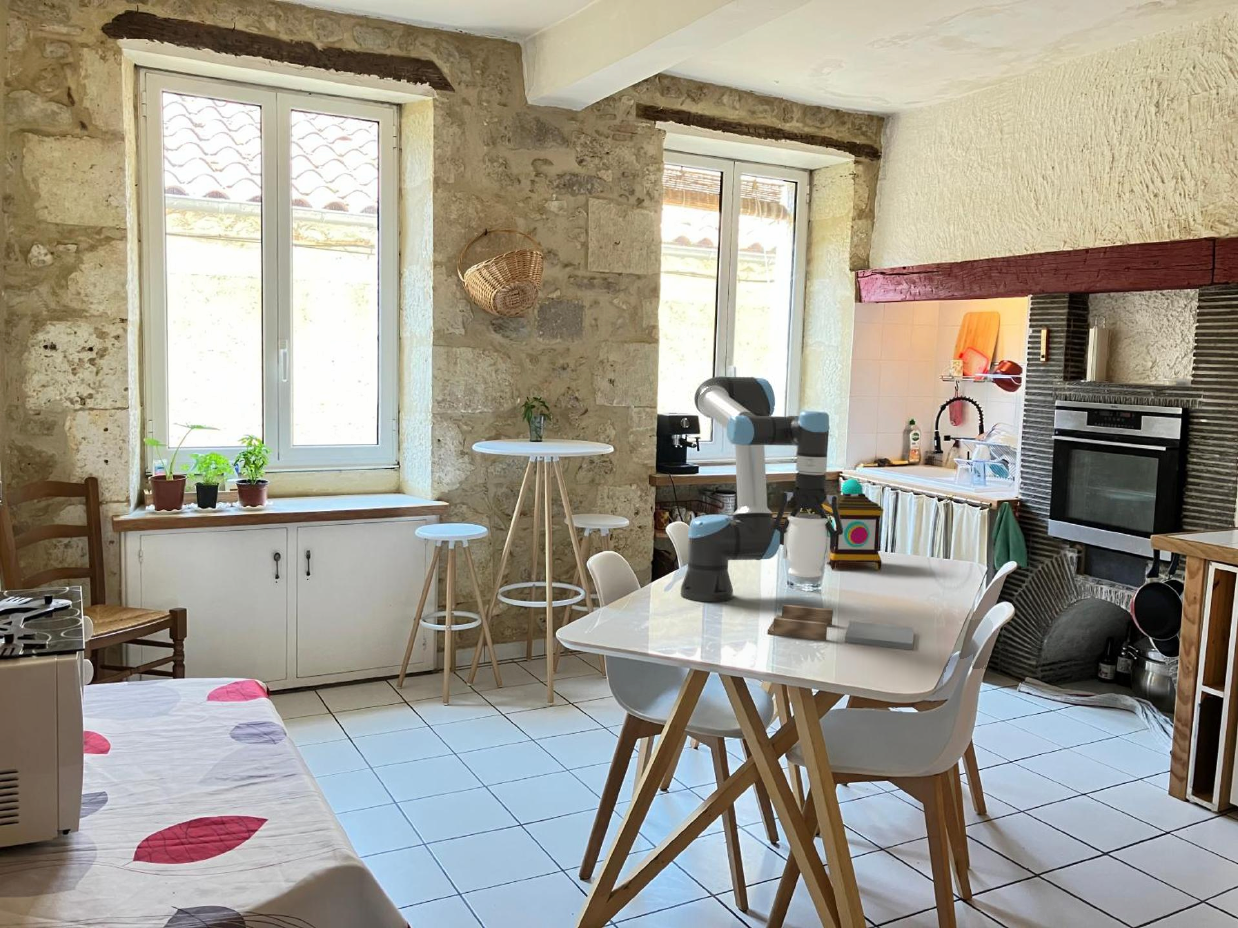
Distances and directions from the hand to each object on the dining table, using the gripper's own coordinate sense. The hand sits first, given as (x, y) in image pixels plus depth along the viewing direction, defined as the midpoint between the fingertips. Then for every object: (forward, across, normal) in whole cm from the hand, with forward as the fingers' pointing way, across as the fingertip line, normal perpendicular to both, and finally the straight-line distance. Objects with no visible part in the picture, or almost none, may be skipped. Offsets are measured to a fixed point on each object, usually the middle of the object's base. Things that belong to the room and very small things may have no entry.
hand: (806, 559), depth 251 cm
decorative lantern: (+19, +4, +92) cm, 94 cm away
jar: (+4, 0, 0) cm, 4 cm away
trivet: (+18, +19, 0) cm, 26 cm away
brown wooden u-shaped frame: (+18, 0, 0) cm, 18 cm away
